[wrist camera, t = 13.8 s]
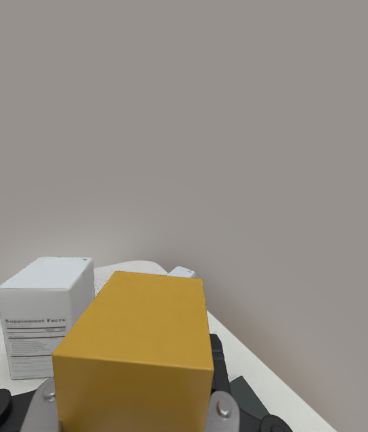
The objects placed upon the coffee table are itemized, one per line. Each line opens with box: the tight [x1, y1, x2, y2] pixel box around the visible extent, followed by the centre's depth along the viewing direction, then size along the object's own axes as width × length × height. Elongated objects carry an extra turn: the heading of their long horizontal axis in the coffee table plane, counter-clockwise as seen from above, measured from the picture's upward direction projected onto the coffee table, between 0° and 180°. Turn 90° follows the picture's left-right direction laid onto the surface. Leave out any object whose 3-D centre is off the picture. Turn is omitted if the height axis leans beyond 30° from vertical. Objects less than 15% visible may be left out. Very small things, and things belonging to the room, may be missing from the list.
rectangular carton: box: [0, 257, 95, 379], centre depth 29 cm, size 9×9×15 cm
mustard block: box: [52, 271, 214, 432], centre depth 9 cm, size 5×5×10 cm
